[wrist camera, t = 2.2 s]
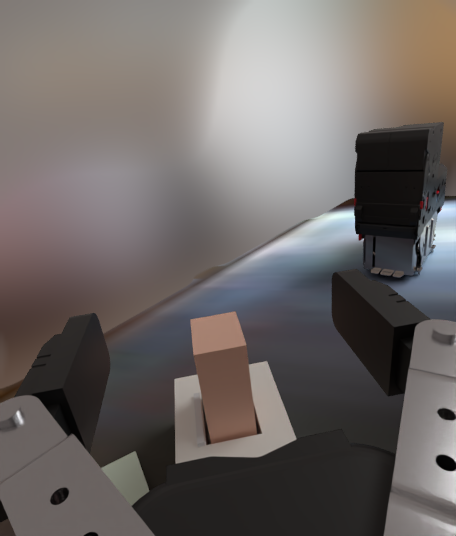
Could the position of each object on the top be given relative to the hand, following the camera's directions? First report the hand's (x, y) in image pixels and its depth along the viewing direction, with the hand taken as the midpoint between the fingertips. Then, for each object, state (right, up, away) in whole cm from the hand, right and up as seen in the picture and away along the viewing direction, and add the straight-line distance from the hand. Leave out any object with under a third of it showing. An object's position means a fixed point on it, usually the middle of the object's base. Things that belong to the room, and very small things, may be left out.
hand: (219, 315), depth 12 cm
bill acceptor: (+34, +3, +58) cm, 67 cm away
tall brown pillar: (+1, -16, +23) cm, 28 cm away
